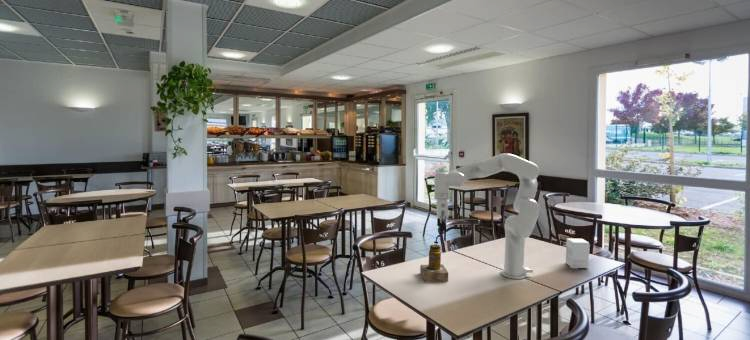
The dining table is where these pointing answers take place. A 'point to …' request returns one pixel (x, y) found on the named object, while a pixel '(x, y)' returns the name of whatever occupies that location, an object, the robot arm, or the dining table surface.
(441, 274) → the riser
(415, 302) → the dining table surface
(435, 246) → the condiment
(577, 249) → the supplement box
